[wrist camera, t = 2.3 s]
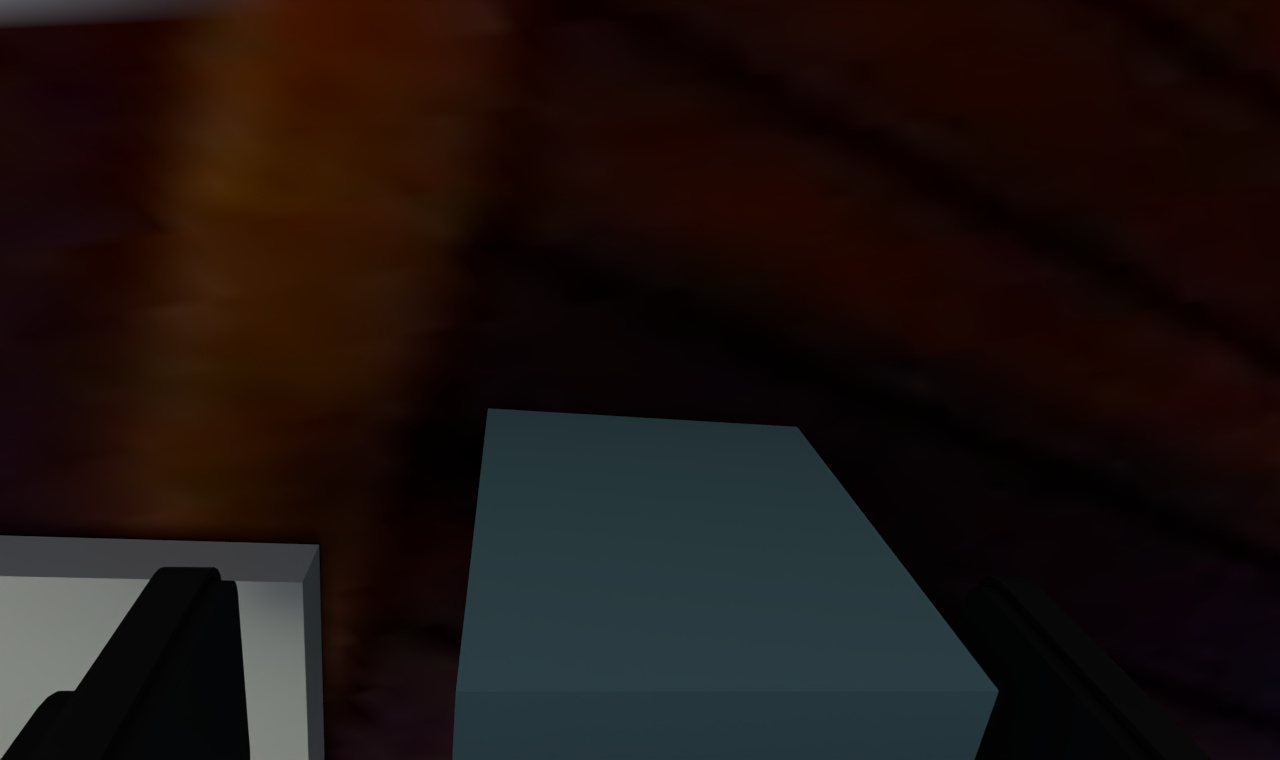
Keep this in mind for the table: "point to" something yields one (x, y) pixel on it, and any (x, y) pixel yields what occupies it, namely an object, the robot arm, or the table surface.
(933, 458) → the table surface
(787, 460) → the teal block
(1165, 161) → the table surface
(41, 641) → the pad
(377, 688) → the table surface
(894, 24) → the table surface
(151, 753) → the robot arm
